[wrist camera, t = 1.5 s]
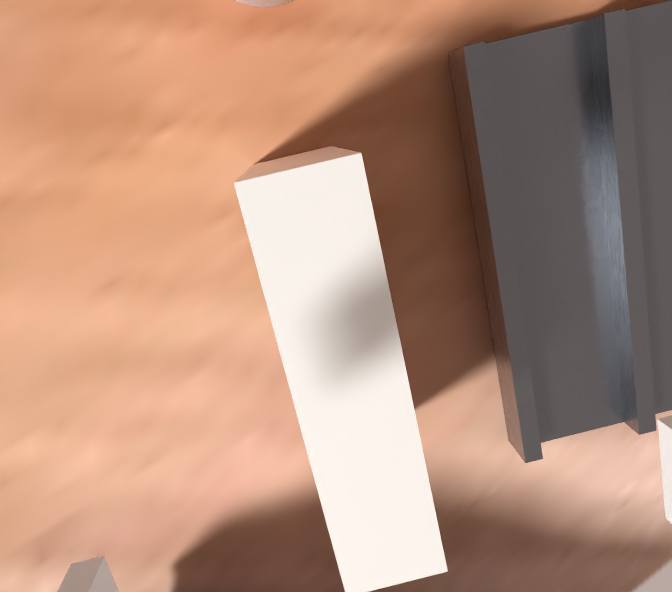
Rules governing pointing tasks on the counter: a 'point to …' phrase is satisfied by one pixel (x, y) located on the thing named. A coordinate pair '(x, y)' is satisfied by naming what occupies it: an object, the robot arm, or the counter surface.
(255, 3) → the coffee cup
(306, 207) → the long white block
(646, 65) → the floor rack
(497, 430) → the counter surface
